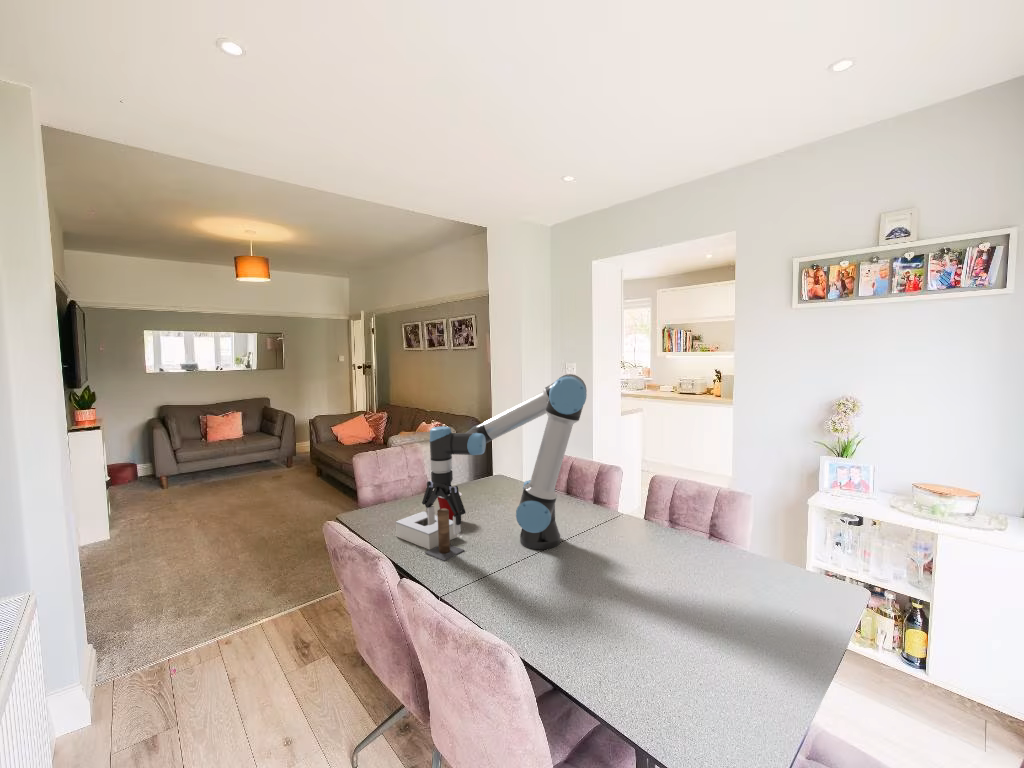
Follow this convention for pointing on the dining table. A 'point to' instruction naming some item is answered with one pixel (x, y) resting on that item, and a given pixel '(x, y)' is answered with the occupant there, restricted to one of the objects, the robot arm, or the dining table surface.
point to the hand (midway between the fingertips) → (443, 528)
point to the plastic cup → (446, 505)
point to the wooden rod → (443, 531)
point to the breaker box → (421, 530)
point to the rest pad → (443, 557)
